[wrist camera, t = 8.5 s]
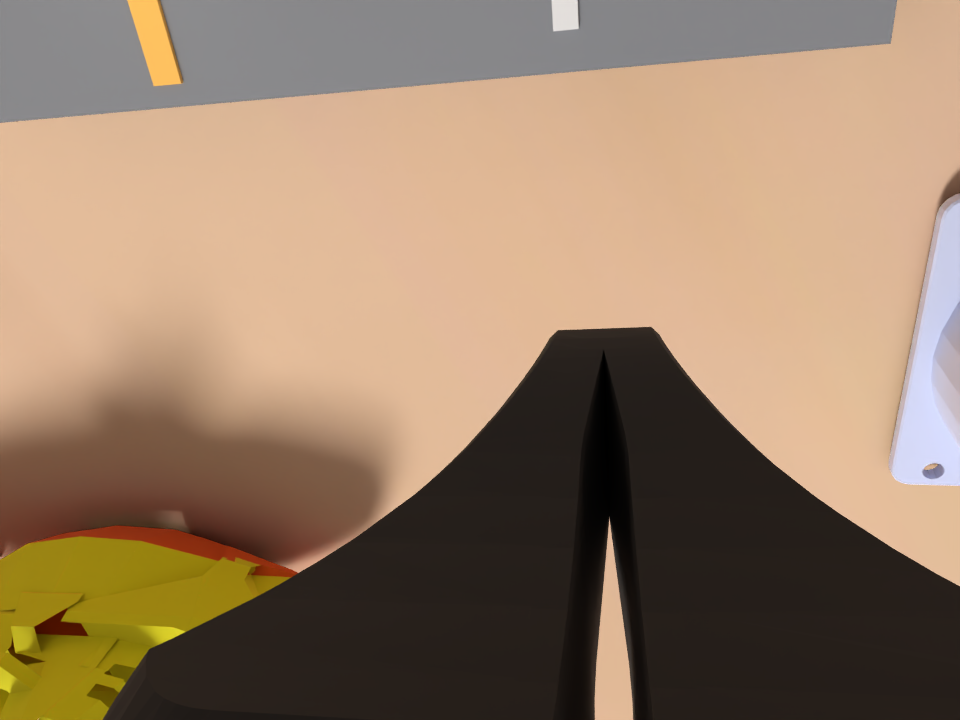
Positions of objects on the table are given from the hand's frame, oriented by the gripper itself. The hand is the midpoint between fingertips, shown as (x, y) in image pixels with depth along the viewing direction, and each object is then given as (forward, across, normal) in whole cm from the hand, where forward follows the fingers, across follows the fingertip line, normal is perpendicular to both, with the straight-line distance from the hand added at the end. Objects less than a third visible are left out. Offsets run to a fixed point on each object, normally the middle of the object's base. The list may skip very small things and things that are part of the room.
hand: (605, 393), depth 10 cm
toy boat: (+10, +18, +14) cm, 24 cm away
